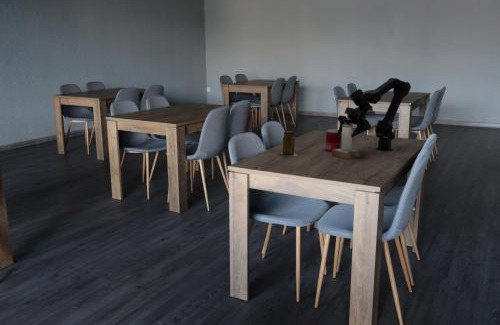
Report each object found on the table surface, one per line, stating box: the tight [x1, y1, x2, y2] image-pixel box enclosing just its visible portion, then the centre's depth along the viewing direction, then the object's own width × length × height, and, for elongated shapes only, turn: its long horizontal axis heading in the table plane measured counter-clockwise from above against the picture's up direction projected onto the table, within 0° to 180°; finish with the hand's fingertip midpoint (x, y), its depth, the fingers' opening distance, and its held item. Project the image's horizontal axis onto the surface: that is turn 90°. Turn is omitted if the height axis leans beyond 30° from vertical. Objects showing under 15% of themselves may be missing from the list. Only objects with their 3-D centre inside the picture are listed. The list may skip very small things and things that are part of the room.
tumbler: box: [340, 123, 354, 151], centre depth 234 cm, size 5×5×13 cm
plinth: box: [331, 148, 361, 160], centre depth 236 cm, size 10×10×3 cm
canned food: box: [325, 128, 342, 153], centre depth 248 cm, size 8×8×11 cm
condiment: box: [279, 130, 299, 157], centre depth 237 cm, size 7×8×12 cm
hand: (345, 135), depth 233 cm, fingers open, 9 cm apart
